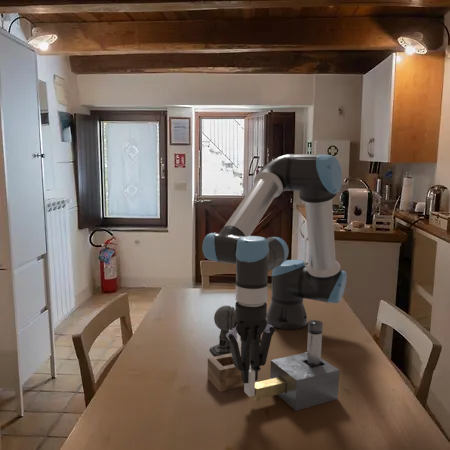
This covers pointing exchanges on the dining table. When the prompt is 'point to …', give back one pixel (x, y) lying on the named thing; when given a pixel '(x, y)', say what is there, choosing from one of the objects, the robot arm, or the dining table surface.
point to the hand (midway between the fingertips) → (249, 393)
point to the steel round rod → (314, 343)
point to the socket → (305, 381)
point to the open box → (224, 372)
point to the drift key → (269, 388)
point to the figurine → (223, 329)
